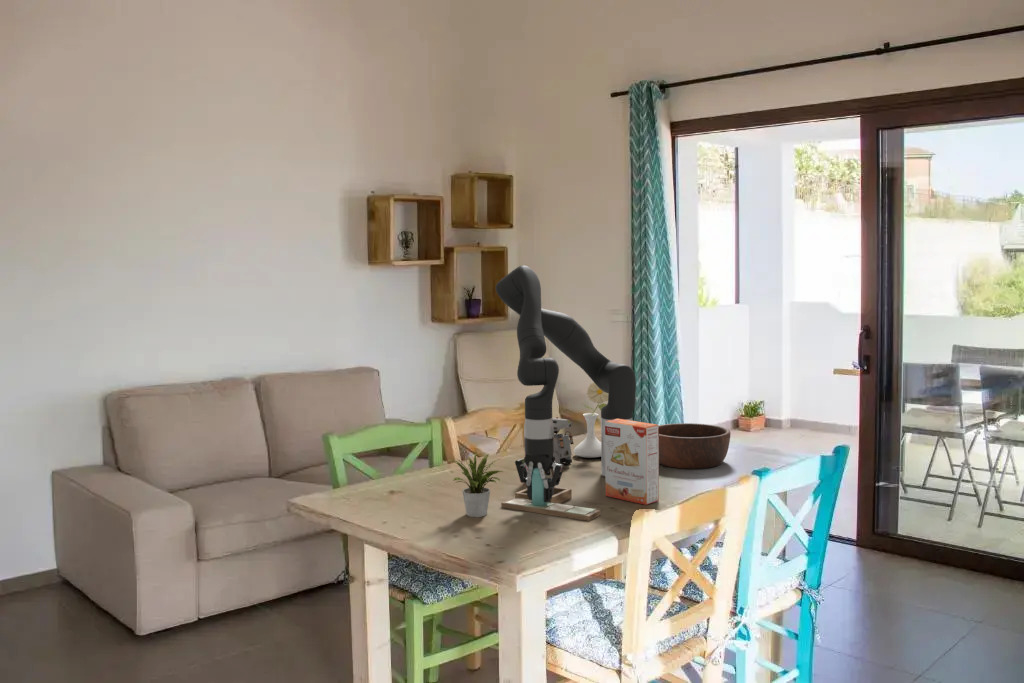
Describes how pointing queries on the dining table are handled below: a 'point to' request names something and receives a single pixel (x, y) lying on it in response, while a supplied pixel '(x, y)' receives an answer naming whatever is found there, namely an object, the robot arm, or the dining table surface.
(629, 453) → the cracker box
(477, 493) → the house plant
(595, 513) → the board
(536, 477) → the pawn
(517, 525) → the dining table surface
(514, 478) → the dining table surface
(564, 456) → the figurine
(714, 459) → the wooden bowl
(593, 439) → the flower in vase
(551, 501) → the dice tray
